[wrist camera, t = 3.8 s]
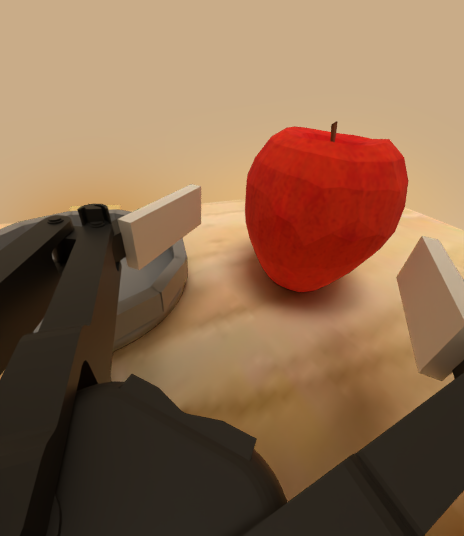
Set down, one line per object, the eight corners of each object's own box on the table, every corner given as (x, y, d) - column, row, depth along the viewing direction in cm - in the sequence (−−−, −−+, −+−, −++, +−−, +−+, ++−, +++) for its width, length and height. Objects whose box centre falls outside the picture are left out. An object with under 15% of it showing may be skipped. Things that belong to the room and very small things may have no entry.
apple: (364, 270, 26) (435, 128, 18) (346, 347, 18) (465, 145, 10) (265, 236, 30) (287, 111, 22) (212, 285, 22) (219, 112, 14)
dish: (175, 225, 31) (174, 203, 29) (200, 341, 17) (200, 312, 15) (17, 234, 26) (4, 208, 24) (-127, 402, 12) (-181, 370, 11)
